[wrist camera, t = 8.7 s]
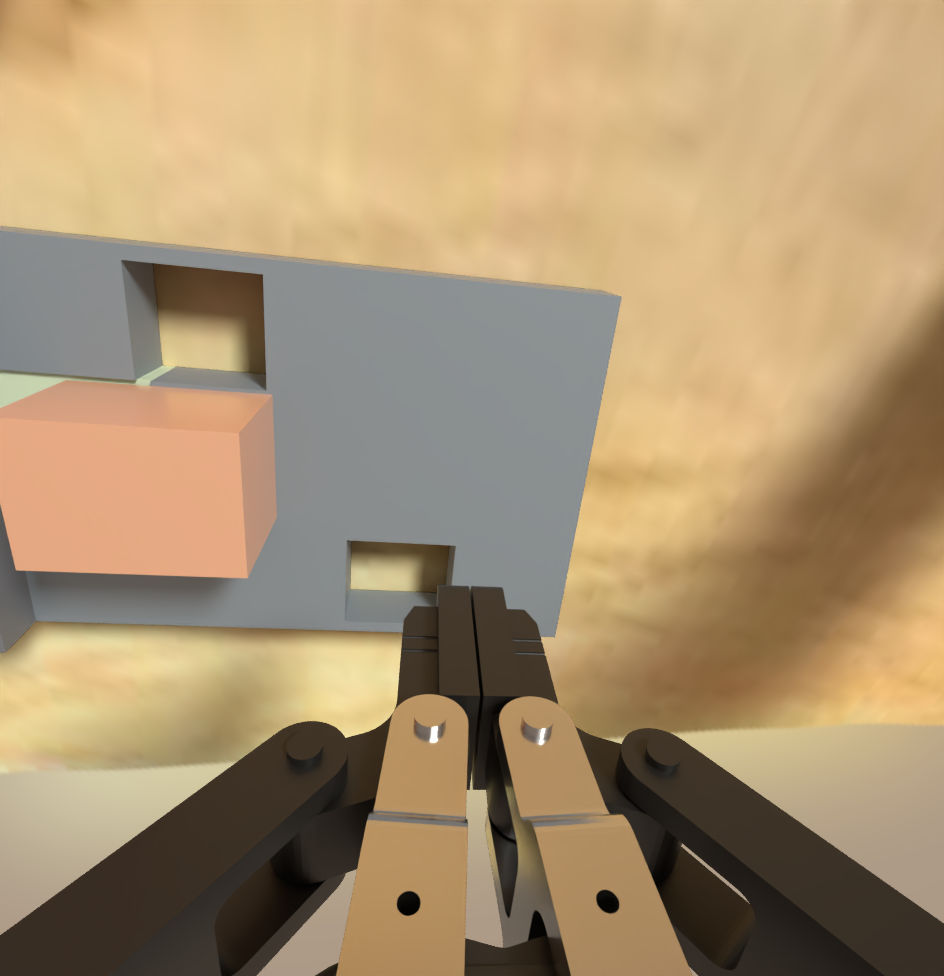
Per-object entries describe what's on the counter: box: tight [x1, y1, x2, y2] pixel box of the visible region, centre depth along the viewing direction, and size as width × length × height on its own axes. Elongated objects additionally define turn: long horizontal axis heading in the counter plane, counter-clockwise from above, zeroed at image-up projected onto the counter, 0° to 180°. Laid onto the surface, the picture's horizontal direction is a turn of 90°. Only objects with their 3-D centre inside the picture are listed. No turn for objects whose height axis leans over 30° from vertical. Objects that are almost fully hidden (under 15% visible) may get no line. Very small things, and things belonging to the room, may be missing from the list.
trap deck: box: [0, 226, 621, 653], centre depth 23 cm, size 23×15×4 cm, turn 84°
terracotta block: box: [0, 380, 277, 578], centre depth 20 cm, size 7×5×4 cm
